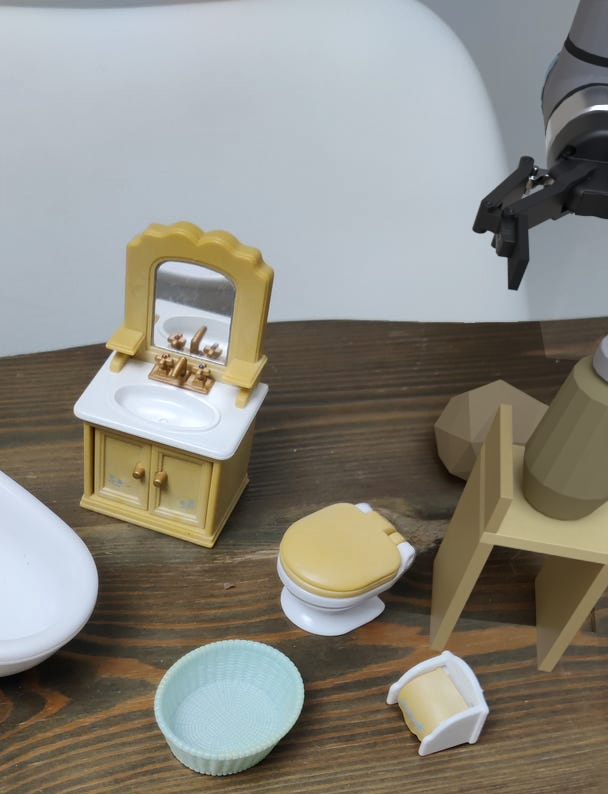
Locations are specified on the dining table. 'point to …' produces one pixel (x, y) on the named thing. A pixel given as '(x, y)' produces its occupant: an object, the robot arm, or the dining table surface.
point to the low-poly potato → (482, 423)
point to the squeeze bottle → (572, 445)
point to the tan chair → (522, 529)
